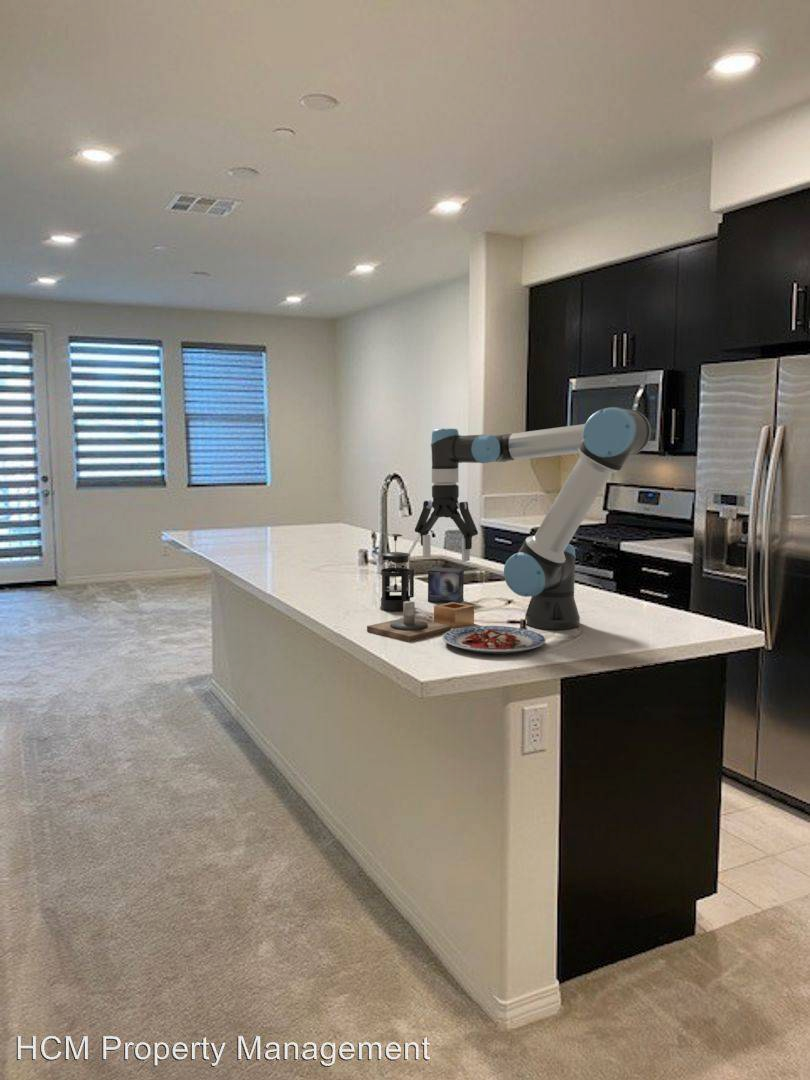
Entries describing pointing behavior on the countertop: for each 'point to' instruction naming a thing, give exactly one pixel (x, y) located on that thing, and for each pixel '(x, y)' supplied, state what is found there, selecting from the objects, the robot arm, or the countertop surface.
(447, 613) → the open wooden box
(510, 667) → the countertop surface
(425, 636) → the post stand
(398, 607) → the french press
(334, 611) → the countertop surface
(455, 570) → the small box
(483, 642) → the ceramic plate
